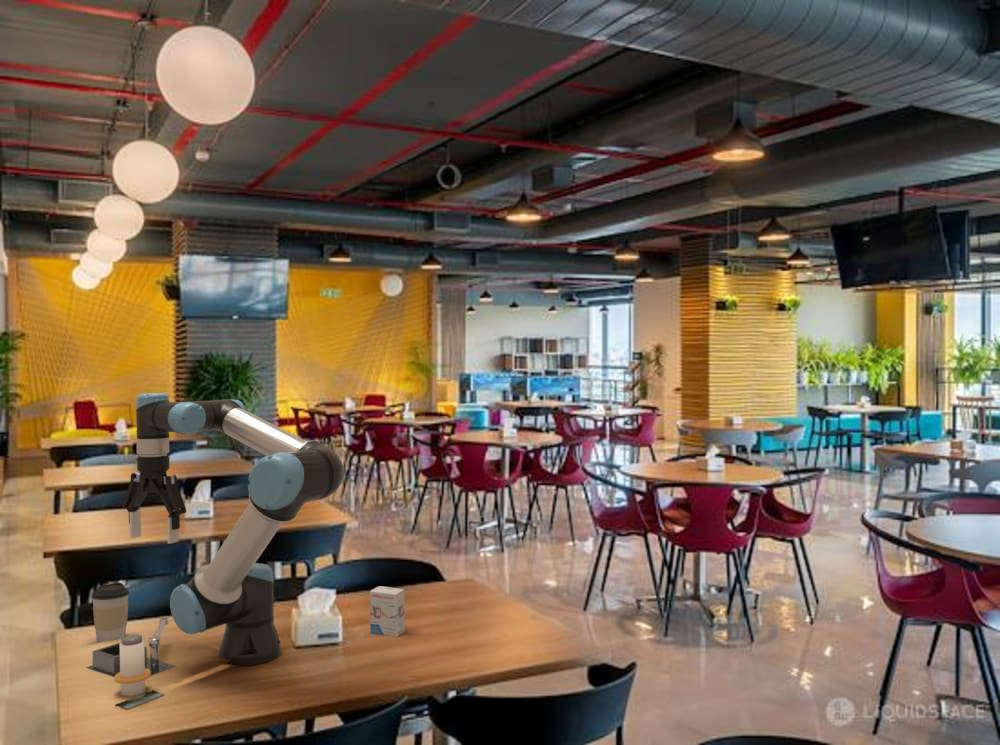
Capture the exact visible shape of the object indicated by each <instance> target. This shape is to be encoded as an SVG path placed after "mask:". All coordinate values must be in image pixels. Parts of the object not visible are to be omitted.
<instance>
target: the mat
mask: <svg viewBox="0 0 1000 745" xmlns="http://www.w3.org/2000/svg"><path fill="white" fill-rule="evenodd" d="M144 693H145V694H146V695H145V696H144V697H143V698H141V699H138V700H133V701H126V700H124V701H123V700H122V701H121V702H118V703H115V704H114V706H115V707H118V708H121V709H124V710H131V709H133V708H135V707H139V706H141V705H143V704H146V703H149V702H151V701H154V700H157V699H158V698H162V697H164V696H165V693H163V692H160V691H157V690H154V689H152V690H150V691H147V692H144Z"/></svg>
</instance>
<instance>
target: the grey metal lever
mask: <svg viewBox="0 0 1000 745" xmlns="http://www.w3.org/2000/svg"><path fill="white" fill-rule="evenodd" d="M167 625H169V617H161V618H160V619H159V623H158V626H157V628H156V630H155V631H154V632H155V633H154V634H153V636H152V637H151V636H150V637H149V638H148V646H149V647H155V646H160V644H161V637H162V634H163V633H164V630H165V628H166V626H167Z"/></svg>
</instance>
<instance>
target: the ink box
mask: <svg viewBox="0 0 1000 745" xmlns="http://www.w3.org/2000/svg"><path fill="white" fill-rule="evenodd" d="M369 612H370V613H369V614H370V615H369V616H370V617H369V620H370V622H369V624H370V627H369V628H370V634H376V635H384V636H390V637H398V636H400V635H401V634H403V633H404V632H405V630H406V629H405V628H406V626H405V625H406V624H405V619H406V618H405V613H406V612H405V590H404V588H398V587H397V588H395V587H390V586H382V585H381V586H379V585H378V586H376V587H374V588H373V589H371V590H370V591H369Z"/></svg>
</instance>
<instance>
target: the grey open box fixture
mask: <svg viewBox="0 0 1000 745" xmlns="http://www.w3.org/2000/svg"><path fill="white" fill-rule="evenodd" d="M120 643H121V642H118V643H115V644H112V645H108V646H105V647H102V648H98V649H96V650H93V651H92V665H89V666H86V667H85V669H88V670H91V671H95V672H97V673H101V674H104V675H106V676H110V677H113V678H115V675H116V674H117V673H119V672H120ZM159 646H160V645H159ZM159 646H155V647H150V646H149V647H150V657H148V656H147V646H144V651H145V668H147V669H149V670H150V677H152V676H155V675H157V674H160V673H163V672H165V671H168V670H171V669H174V668H177V667H178V666H177V665H175V664H170V663H168V662H164V661H162V660H160V659H159V658H160V656H159V654H160V651H159V648H160V647H159Z"/></svg>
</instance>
